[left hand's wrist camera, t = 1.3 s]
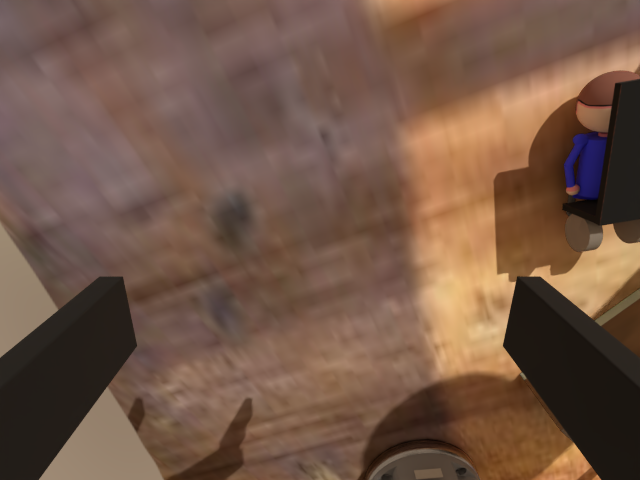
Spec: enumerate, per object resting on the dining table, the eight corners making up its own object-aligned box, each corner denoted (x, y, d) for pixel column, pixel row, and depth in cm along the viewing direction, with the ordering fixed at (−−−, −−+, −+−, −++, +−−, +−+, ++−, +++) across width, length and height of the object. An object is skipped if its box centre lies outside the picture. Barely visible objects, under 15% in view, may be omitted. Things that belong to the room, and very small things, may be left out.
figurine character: (606, 217, 39) (636, 61, 33) (667, 253, 33) (721, 66, 26) (541, 228, 40) (557, 76, 33) (588, 265, 33) (620, 85, 26)
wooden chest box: (658, 274, 40) (737, 316, 33) (705, 331, 43) (789, 382, 35) (519, 374, 45) (560, 430, 38) (569, 419, 48) (617, 481, 40)
